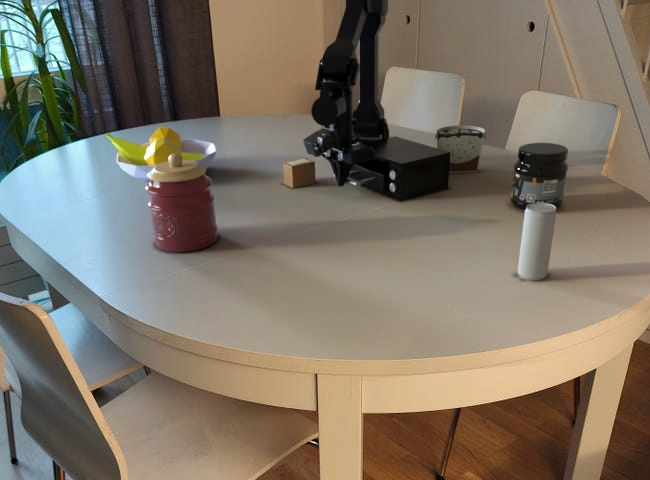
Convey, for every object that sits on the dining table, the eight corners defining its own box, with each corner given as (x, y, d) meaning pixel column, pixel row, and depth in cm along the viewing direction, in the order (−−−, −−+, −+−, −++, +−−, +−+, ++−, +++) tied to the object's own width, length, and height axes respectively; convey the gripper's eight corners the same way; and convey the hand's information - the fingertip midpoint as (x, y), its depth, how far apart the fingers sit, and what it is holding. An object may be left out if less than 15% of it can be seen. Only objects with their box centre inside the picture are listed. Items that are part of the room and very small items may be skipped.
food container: (480, 164, 173) (483, 123, 168) (483, 171, 167) (487, 129, 162) (430, 166, 174) (432, 125, 169) (432, 173, 169) (434, 131, 164)
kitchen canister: (191, 257, 132) (178, 166, 122) (141, 247, 138) (125, 159, 129) (231, 234, 141) (222, 148, 132) (182, 226, 147) (170, 142, 138)
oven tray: (327, 183, 163) (327, 166, 161) (389, 168, 170) (389, 152, 168) (362, 198, 152) (362, 180, 150) (426, 181, 160) (427, 164, 158)
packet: (284, 184, 168) (282, 162, 166) (306, 178, 171) (305, 157, 168) (293, 188, 165) (291, 166, 162) (315, 182, 168) (314, 161, 165)
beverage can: (512, 271, 118) (520, 203, 112) (540, 268, 118) (549, 201, 112) (523, 282, 114) (532, 213, 108) (551, 280, 114) (562, 210, 108)
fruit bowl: (236, 163, 187) (232, 120, 181) (183, 193, 166) (177, 146, 161) (152, 157, 198) (145, 116, 192) (92, 185, 177) (83, 140, 171)
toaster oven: (346, 181, 167) (345, 146, 163) (394, 170, 173) (395, 136, 169) (397, 202, 152) (398, 164, 148) (448, 188, 158) (450, 152, 154)
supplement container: (525, 194, 151) (532, 139, 145) (571, 203, 145) (580, 146, 139) (500, 207, 145) (506, 150, 139) (546, 217, 139) (555, 158, 132)
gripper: (286, 114, 152) (290, 183, 160) (332, 128, 138) (334, 203, 146) (328, 106, 157) (329, 174, 165) (376, 119, 143) (376, 193, 151)
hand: (340, 185), depth 157 cm, fingers closed, pressing on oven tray
